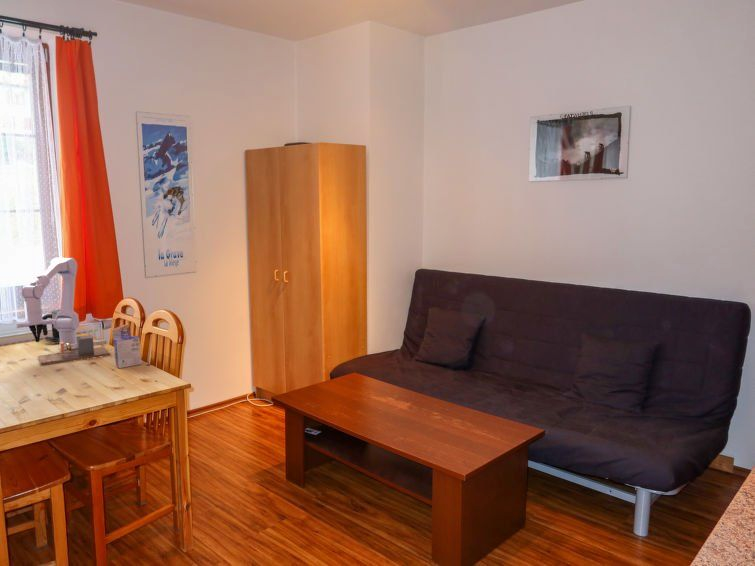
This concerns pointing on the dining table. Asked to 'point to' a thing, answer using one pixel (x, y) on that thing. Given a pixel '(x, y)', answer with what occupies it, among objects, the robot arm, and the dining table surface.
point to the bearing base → (75, 352)
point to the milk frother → (54, 331)
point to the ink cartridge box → (127, 350)
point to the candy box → (120, 330)
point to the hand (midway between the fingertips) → (37, 341)
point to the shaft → (73, 346)
